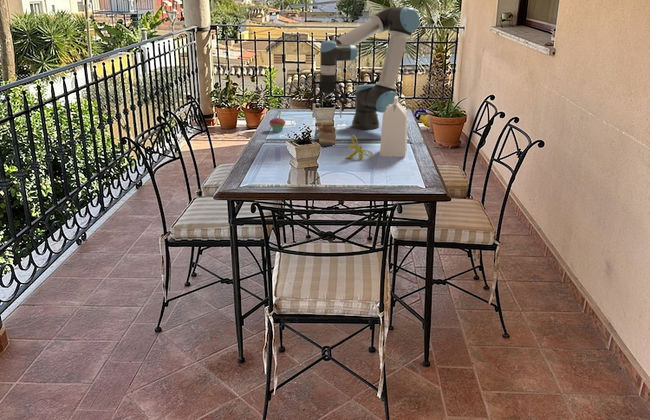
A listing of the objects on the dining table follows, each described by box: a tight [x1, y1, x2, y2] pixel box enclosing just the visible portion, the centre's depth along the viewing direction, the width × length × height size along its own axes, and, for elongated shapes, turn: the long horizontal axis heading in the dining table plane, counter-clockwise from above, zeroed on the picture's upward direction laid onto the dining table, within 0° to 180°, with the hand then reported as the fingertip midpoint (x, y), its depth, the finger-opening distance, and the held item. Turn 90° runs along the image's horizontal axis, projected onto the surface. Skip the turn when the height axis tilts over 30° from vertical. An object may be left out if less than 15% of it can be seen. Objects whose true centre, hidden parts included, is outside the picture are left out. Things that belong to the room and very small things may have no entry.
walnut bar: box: [322, 121, 333, 133], centre depth 289 cm, size 11×4×4 cm, turn 179°
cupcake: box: [268, 109, 286, 133], centre depth 307 cm, size 9×8×12 cm
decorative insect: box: [344, 134, 374, 160], centre depth 258 cm, size 13×3×10 cm
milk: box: [379, 95, 408, 158], centre depth 264 cm, size 12×12×26 cm
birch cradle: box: [318, 126, 336, 145], centre depth 290 cm, size 16×8×5 cm, turn 179°
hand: (327, 117), depth 289 cm, fingers open, 13 cm apart
